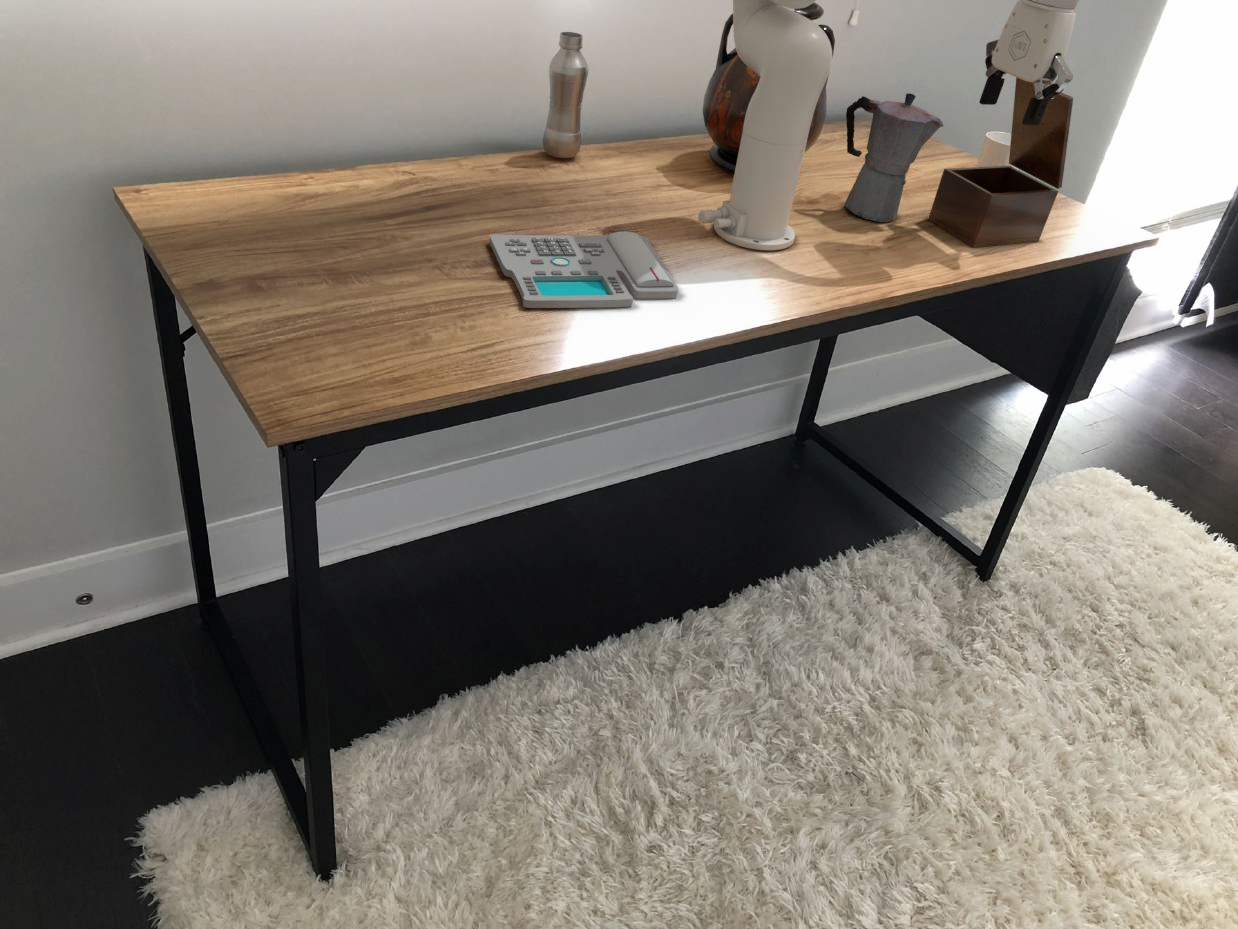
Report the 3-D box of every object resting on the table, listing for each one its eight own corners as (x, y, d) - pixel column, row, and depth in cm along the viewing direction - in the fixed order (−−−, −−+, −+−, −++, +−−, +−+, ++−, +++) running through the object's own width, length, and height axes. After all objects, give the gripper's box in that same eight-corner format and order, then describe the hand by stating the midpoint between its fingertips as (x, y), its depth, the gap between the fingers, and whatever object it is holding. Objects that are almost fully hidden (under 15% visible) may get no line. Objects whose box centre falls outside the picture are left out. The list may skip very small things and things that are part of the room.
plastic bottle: (537, 149, 171) (546, 28, 160) (574, 149, 173) (585, 30, 162) (546, 162, 167) (556, 38, 155) (584, 162, 169) (596, 40, 157)
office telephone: (646, 226, 143) (692, 289, 128) (644, 243, 144) (688, 307, 129) (489, 225, 136) (518, 291, 121) (488, 242, 138) (516, 310, 122)
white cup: (1019, 199, 181) (1039, 146, 175) (985, 200, 178) (1005, 146, 172) (992, 183, 186) (1010, 131, 180) (959, 184, 184) (977, 131, 178)
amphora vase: (810, 158, 185) (848, -1, 169) (811, 198, 168) (854, 25, 152) (698, 139, 186) (725, -21, 170) (688, 177, 169) (717, 3, 153)
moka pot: (914, 231, 161) (953, 108, 149) (822, 213, 163) (853, 90, 151) (912, 210, 169) (948, 92, 157) (824, 194, 170) (853, 76, 159)
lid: (1069, 99, 148) (1073, 97, 148) (1016, 76, 156) (1020, 74, 157) (1057, 189, 159) (1061, 187, 159) (1008, 163, 167) (1012, 161, 167)
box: (973, 247, 159) (991, 195, 153) (927, 218, 167) (944, 168, 162) (1038, 241, 164) (1058, 191, 159) (991, 214, 173) (1009, 165, 167)
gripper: (992, -20, 147) (954, 96, 157) (1077, 9, 135) (1030, 133, 145) (1028, -17, 150) (988, 97, 160) (1114, 12, 138) (1065, 133, 148)
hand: (1008, 114), depth 153 cm, fingers open, 9 cm apart
